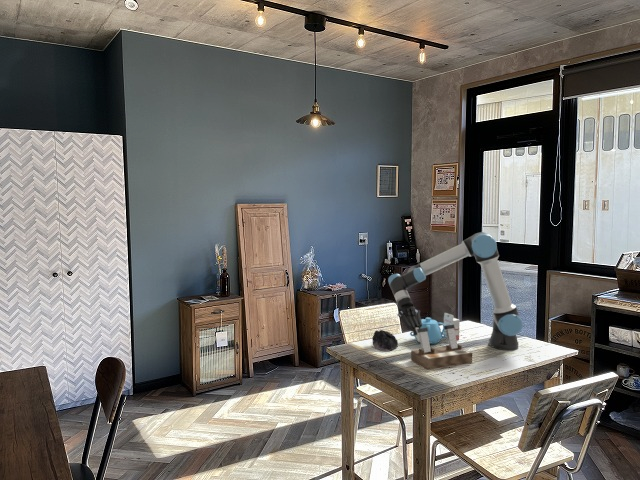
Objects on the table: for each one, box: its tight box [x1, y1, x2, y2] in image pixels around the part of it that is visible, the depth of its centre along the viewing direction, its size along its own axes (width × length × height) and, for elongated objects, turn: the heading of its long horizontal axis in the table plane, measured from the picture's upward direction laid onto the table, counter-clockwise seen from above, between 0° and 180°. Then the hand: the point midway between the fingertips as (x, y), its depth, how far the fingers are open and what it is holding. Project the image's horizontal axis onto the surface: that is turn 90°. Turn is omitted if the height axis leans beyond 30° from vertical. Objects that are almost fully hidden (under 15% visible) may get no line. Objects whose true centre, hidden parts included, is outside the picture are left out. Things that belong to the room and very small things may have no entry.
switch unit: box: [410, 343, 473, 371], centre depth 238 cm, size 26×14×7 cm, turn 112°
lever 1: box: [417, 328, 432, 352], centre depth 238 cm, size 5×2×12 cm, turn 112°
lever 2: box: [444, 325, 458, 349], centre depth 244 cm, size 5×2×12 cm, turn 112°
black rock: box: [372, 329, 399, 352], centre depth 261 cm, size 13×14×10 cm
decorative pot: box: [409, 316, 446, 345], centre depth 272 cm, size 16×16×14 cm
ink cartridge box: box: [442, 312, 461, 341], centre depth 277 cm, size 9×5×15 cm, turn 25°
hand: (420, 340), depth 240 cm, fingers closed
